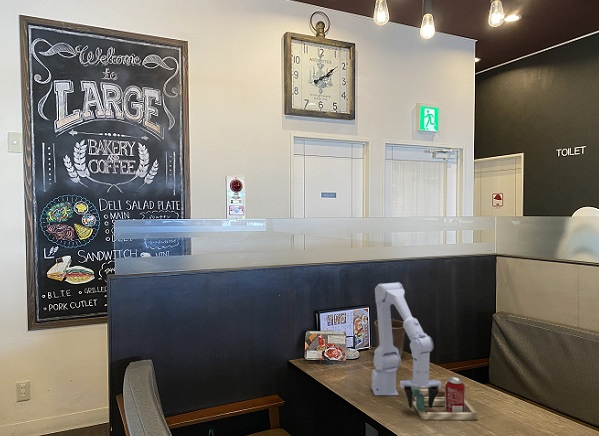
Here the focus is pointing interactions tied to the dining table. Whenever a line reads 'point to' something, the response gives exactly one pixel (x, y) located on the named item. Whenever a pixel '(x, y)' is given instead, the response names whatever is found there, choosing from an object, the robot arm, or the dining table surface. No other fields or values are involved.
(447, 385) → the soda can
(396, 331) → the plant pot
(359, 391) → the dining table surface
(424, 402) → the teal-tipped beige rail
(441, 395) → the walnut block
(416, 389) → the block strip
